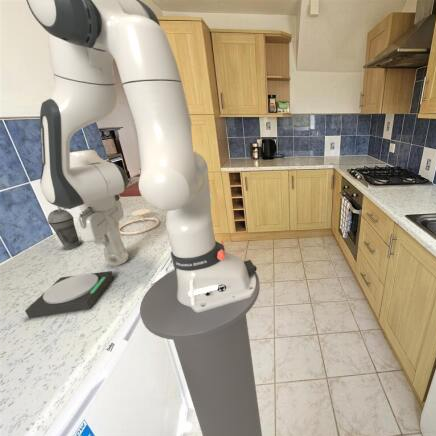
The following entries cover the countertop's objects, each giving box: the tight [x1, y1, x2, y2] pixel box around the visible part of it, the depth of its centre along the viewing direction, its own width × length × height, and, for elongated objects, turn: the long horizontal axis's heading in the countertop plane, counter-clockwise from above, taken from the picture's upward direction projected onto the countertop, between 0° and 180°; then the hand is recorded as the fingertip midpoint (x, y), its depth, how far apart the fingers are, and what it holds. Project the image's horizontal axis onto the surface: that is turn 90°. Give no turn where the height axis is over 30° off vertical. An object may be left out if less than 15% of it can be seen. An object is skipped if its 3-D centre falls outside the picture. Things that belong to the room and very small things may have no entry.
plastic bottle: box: [102, 213, 129, 267], centre depth 81 cm, size 6×7×20 cm
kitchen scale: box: [24, 270, 115, 319], centre depth 69 cm, size 14×14×3 cm
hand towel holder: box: [119, 208, 160, 236], centre depth 113 cm, size 17×4×21 cm
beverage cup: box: [47, 206, 81, 250], centre depth 93 cm, size 7×7×20 cm
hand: (110, 241), depth 82 cm, fingers open, 8 cm apart
